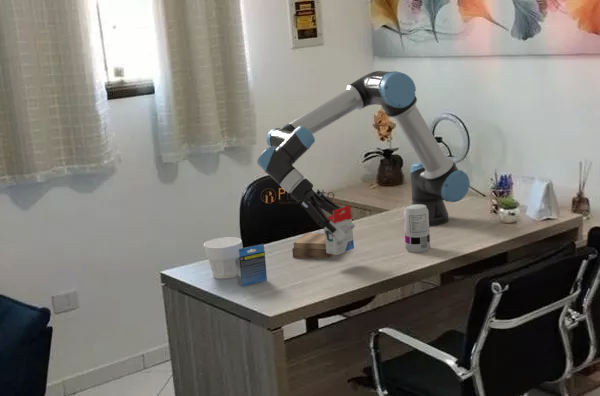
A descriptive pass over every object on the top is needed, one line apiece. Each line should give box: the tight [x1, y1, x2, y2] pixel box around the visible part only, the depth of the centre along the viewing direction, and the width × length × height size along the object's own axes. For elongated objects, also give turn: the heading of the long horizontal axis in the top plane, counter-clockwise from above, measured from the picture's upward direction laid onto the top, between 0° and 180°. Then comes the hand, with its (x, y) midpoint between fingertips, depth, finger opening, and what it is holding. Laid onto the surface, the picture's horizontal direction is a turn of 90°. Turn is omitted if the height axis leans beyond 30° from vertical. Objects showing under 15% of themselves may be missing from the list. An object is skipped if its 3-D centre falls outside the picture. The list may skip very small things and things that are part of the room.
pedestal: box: [291, 232, 334, 259], centre depth 278 cm, size 13×13×5 cm
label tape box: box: [235, 243, 268, 288], centre depth 251 cm, size 9×4×12 cm, turn 118°
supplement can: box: [403, 203, 431, 254], centre depth 271 cm, size 8×8×15 cm
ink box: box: [323, 205, 355, 256], centre depth 260 cm, size 8×5×15 cm, turn 134°
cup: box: [203, 236, 243, 280], centre depth 261 cm, size 12×12×11 cm
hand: (347, 233), depth 259 cm, fingers closed on ink box, 9 cm apart
